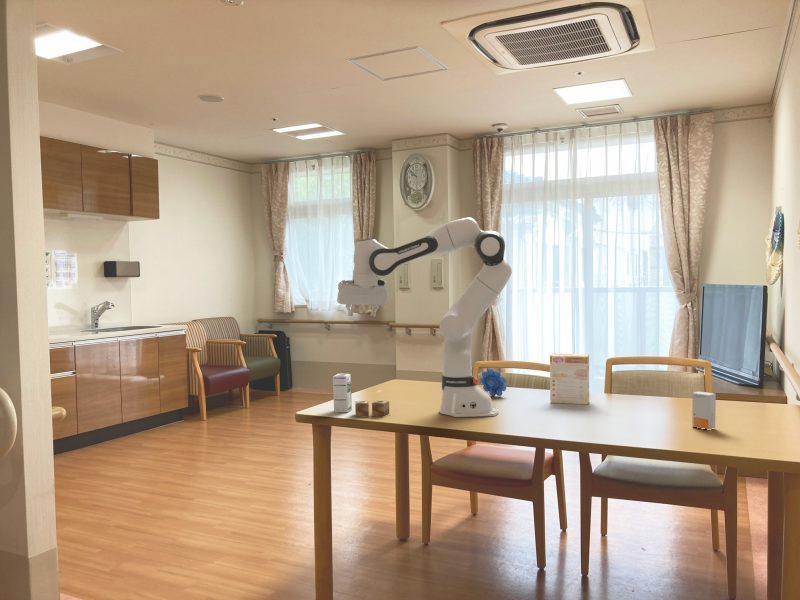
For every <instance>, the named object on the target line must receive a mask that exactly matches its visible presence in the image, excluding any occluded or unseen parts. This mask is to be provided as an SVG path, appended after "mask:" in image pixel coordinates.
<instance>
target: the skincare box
mask: <svg viewBox="0 0 800 600" xmlns="http://www.w3.org/2000/svg"><path fill="white" fill-rule="evenodd" d="M716 397H717V394H716V393H713V392H712V393H711V392H705V391H694V392H692V410H691V413H692V415H691V416H692V419H691V420H692V421H691V422H692V423H691V427H692V428H693V427H698V428H705V429H712V428H715V429H716V401H717V400H716V399H717V398H716ZM698 428H697V429H698Z"/></svg>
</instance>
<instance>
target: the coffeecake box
mask: <svg viewBox="0 0 800 600" xmlns="http://www.w3.org/2000/svg"><path fill="white" fill-rule="evenodd" d="M549 389H550V390H549V392H550V393H549V395H550V397H549V402H550V404H551V403H553V404H554V403H555V404H569V405H570V404H572V405H573V404H575V405H589V403H590V354H587V353H586V354H583V353H582V354H578V353H577V354H575V353H573V354H572V353H568V354H567V353H552V354H550V355H549Z"/></svg>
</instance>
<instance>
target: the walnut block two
mask: <svg viewBox="0 0 800 600" xmlns="http://www.w3.org/2000/svg"><path fill="white" fill-rule="evenodd" d="M388 414H389V415H390V401H388V400H376V401H373V402H372V403H371V416H372V415H373V416H372V417H380V416H385V417H386V415H387V416H389V415H388Z"/></svg>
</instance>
